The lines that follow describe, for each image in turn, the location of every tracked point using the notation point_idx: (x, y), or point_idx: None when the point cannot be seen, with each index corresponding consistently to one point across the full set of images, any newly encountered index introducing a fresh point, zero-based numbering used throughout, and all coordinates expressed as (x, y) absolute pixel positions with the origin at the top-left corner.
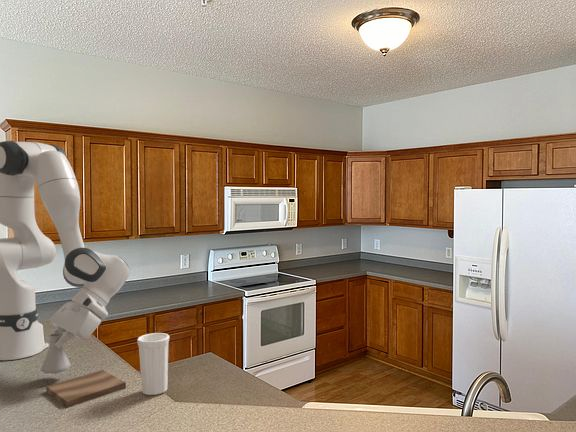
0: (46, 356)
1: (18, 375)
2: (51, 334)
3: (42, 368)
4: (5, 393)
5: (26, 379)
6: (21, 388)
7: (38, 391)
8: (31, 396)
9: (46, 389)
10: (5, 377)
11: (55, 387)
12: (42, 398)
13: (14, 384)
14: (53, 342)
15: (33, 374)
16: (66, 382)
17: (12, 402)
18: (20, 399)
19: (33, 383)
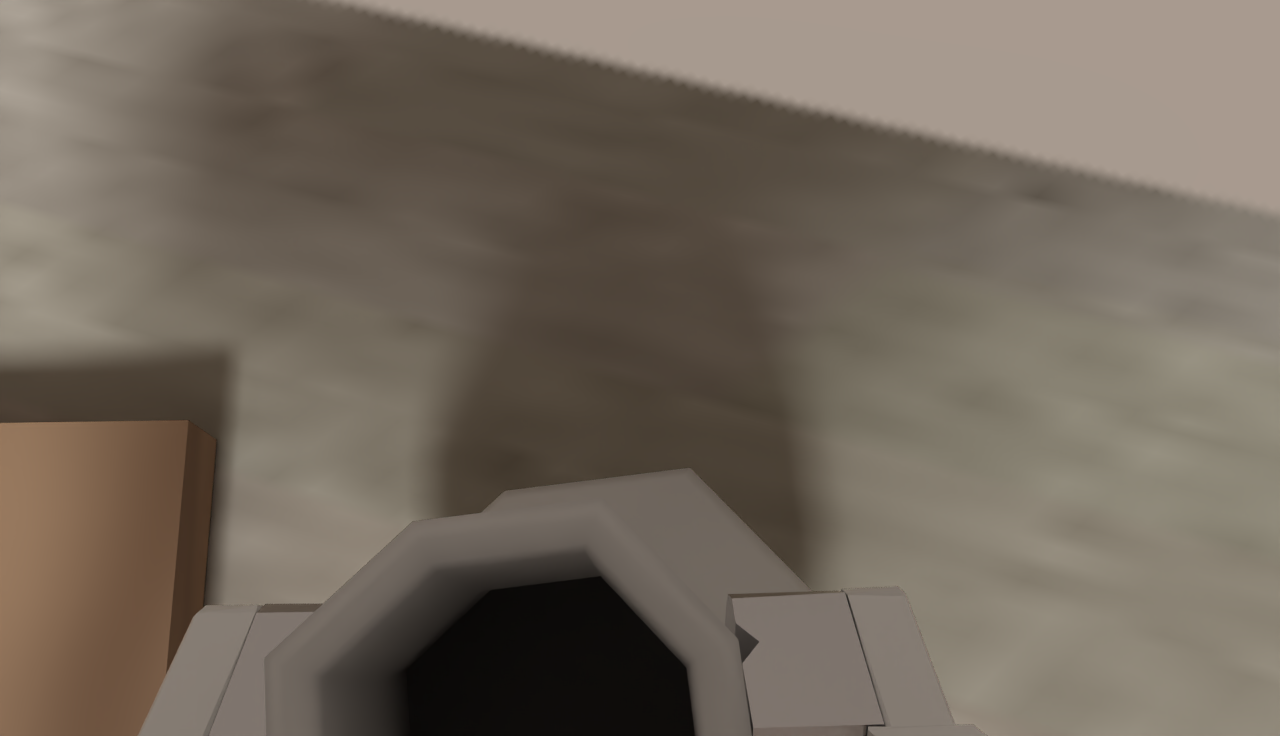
0: (646, 521)
1: (1223, 363)
2: (658, 601)
3: (644, 480)
4: (621, 75)
5: (960, 394)
6: (641, 250)
7: (335, 371)
8: (235, 257)
9: (200, 431)
10: (1259, 221)
11: (9, 499)
12: (35, 332)
13: (873, 229)
14: (444, 614)
15: (1115, 530)
16: (63, 701)
17: (242, 55)
18: (255, 140)
19: (711, 415)
